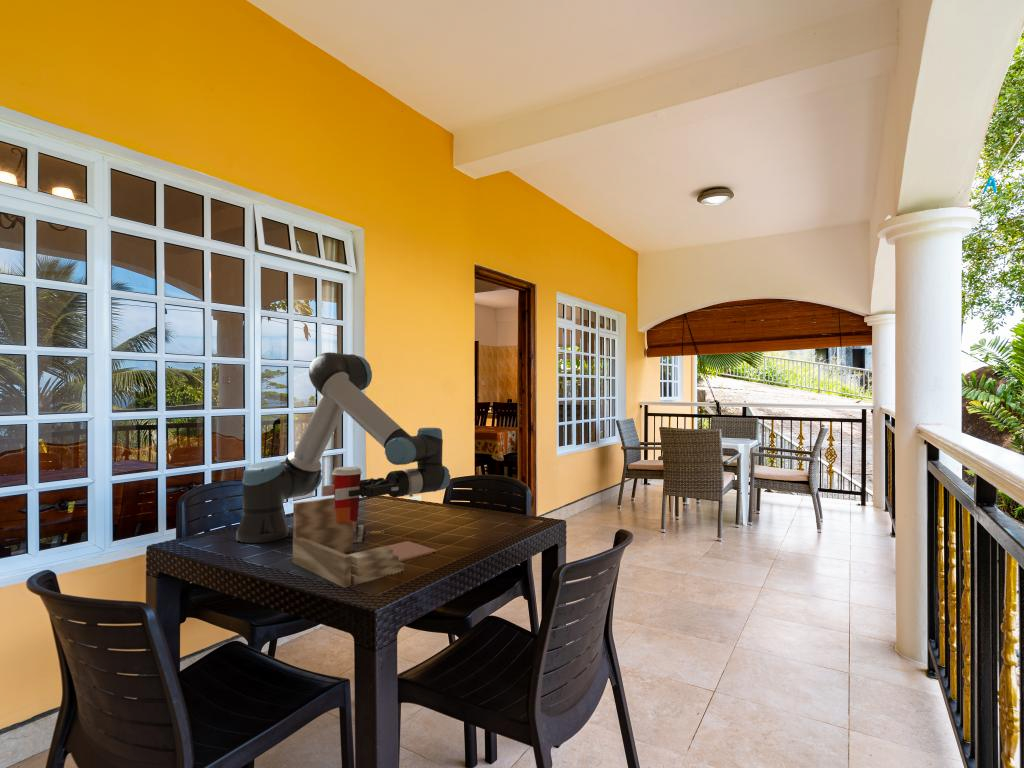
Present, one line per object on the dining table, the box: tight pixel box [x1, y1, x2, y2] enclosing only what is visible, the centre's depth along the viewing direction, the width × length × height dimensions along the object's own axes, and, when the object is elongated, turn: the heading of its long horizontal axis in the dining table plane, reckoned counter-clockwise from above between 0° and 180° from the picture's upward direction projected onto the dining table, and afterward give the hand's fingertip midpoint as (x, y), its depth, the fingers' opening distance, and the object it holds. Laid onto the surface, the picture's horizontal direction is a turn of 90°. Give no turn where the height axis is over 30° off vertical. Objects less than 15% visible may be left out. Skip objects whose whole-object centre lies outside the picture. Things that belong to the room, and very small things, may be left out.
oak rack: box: [292, 496, 354, 589], centre depth 143 cm, size 17×28×16 cm, turn 46°
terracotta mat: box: [383, 540, 438, 563], centre depth 155 cm, size 14×14×1 cm
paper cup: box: [331, 466, 363, 523], centre depth 144 cm, size 8×8×14 cm
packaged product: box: [353, 520, 365, 544], centre depth 174 cm, size 18×5×10 cm
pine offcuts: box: [347, 546, 405, 586], centre depth 135 cm, size 14×5×6 cm, turn 136°
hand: (329, 493), depth 141 cm, fingers closed on paper cup, 7 cm apart
